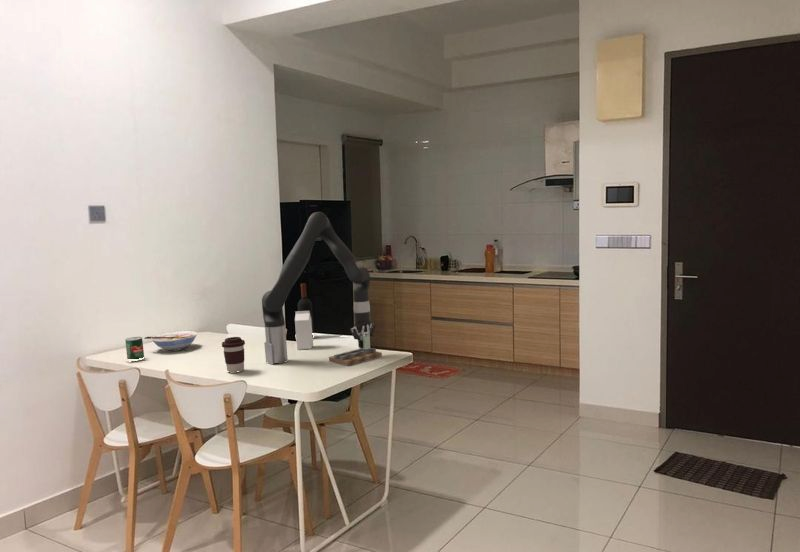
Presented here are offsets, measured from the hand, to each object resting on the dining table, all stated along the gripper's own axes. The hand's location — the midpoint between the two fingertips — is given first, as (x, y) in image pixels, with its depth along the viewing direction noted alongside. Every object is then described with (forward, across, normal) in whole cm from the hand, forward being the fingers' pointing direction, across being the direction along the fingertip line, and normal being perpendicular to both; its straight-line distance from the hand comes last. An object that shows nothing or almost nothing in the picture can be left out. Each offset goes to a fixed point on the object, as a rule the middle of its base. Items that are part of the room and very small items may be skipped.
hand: (364, 346), depth 295 cm
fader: (+2, 0, 0) cm, 2 cm away
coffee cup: (+5, +52, -28) cm, 59 cm away
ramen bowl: (+5, +50, -98) cm, 110 cm away
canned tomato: (+5, +72, -92) cm, 117 cm away
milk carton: (+5, +6, -40) cm, 41 cm away
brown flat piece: (+5, +6, 0) cm, 7 cm away
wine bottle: (+5, -8, -59) cm, 60 cm away
